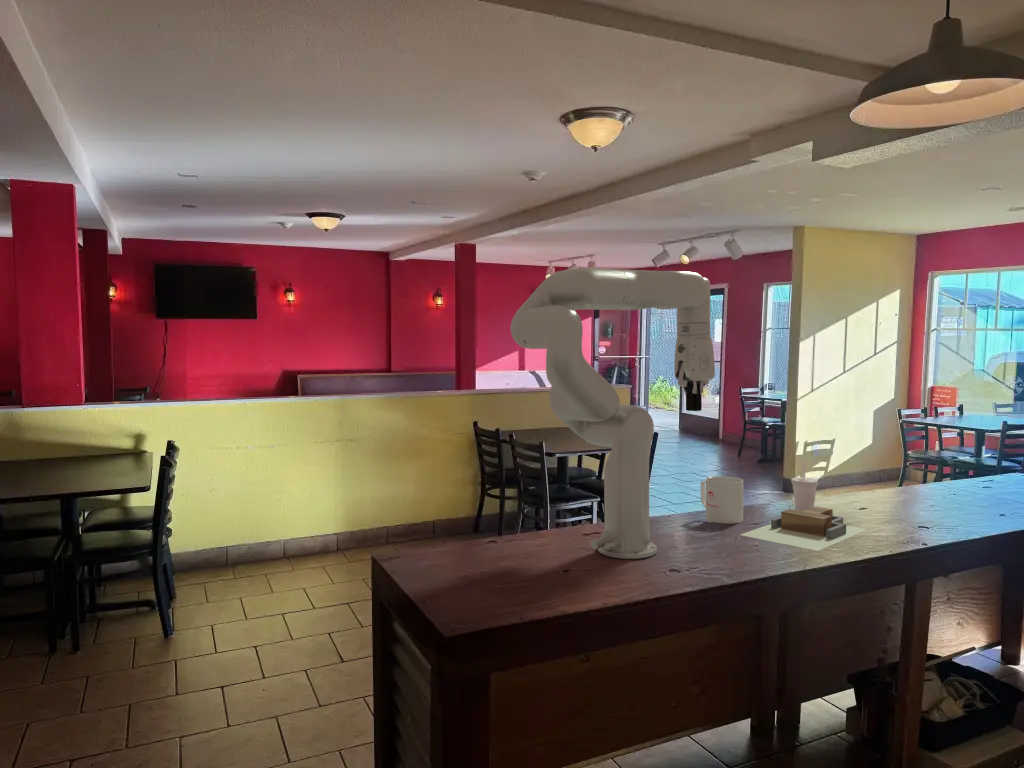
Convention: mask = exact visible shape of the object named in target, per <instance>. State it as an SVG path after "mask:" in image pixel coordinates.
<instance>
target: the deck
mask: <svg viewBox="0 0 1024 768" xmlns="http://www.w3.org/2000/svg"><path fill="white" fill-rule="evenodd" d="M868 530H869V529H868V528H863V527H856V526H851V525H847V524H845V523H844V517H843V516H840V515H839V516H837V515H833V520H832V528H830V529H827V530H826V536H824V537H822V536H817V535H812V534H807V533H801V532H796V531H791V530H786V529H781V516H779V517H775V518H773V519H771V520H770V524H766V525H763V526H761V527H758V528H755V529H752V530H750V531H747V532H744V533H741V534H739V536H742V537H747V538H751V539H756V540H761V541H765V542H773V543H778V544H782V545H785V546H789V547H790V546H791V547H797V548H801V549H805V550H810V551H815V552H819V551H821V550H824V549H826V548H828V547H831V546H833V545H836V544H839V542H840V543H841V542H842V541H845V540H847V539H849V538H850V539H851V538H852V537H854V536H856V535H858V534H861V533H863V532H866V531H868Z"/></svg>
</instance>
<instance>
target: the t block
mask: <svg viewBox="0 0 1024 768" xmlns="http://www.w3.org/2000/svg"><path fill="white" fill-rule="evenodd" d="M833 510H834V509H833V508H831V507H830V508H829V507H822V506H817V505H814V507H812V508H809V509H806V510H803V511H799V510H796V509H792V508H788V509H785V510H782V511H780V512H781V513H780V517H781V529H786V530H791V531H796V532H801V533H807V534H812V535H817V536H822V537H824V536H826V530H827V529H830V528H832V520H833V516H834V515H833V514H834V512H833Z"/></svg>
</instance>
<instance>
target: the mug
mask: <svg viewBox="0 0 1024 768" xmlns="http://www.w3.org/2000/svg"><path fill="white" fill-rule="evenodd" d="M700 502H701V504H702V506H703V507H704V508H705V520H706V521H707V522H708V524H709V523H717V524H730V525H731V524H739V523H742V522H744V479H743V478H740V477H734V476H724V475H718V476H714V475H713V476H709V477H706V478H705V480H703V481H700Z"/></svg>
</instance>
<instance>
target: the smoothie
mask: <svg viewBox="0 0 1024 768" xmlns="http://www.w3.org/2000/svg"><path fill="white" fill-rule="evenodd" d="M790 480H791V481H790V483H791V484H792V491H793V500H794V505H795V510H799V511H803V510H806V509H809V508H812V507H815V501H816V494H817V487H818V485H819V481H818V479H816V478H811V477H806V462H805V461H803V462H802V477H792V478H791V479H790Z"/></svg>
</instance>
